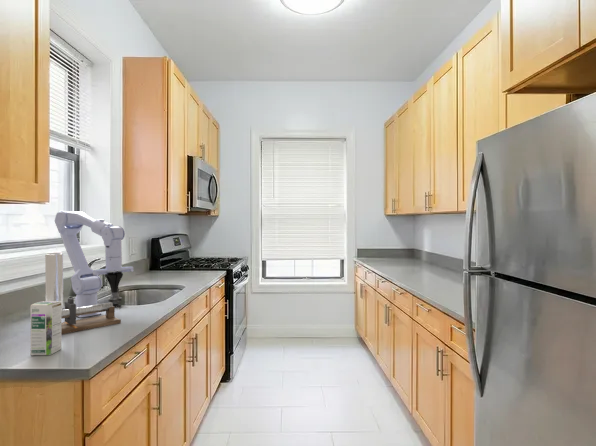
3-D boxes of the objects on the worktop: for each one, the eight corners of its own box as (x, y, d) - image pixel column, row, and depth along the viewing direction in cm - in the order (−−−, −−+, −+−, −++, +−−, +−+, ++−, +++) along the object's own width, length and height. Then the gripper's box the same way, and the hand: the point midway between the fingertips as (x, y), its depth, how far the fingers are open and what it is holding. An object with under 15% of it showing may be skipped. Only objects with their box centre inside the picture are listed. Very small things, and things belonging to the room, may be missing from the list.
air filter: (53, 307, 170) (53, 251, 170) (66, 307, 169) (66, 251, 169) (42, 310, 164) (41, 252, 164) (55, 311, 163) (55, 252, 163)
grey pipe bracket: (64, 321, 138) (64, 297, 138) (69, 320, 139) (69, 297, 139) (70, 324, 133) (70, 300, 133) (76, 324, 134) (75, 299, 134)
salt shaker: (116, 308, 168) (116, 280, 168) (104, 307, 169) (104, 280, 169) (125, 305, 174) (124, 278, 174) (113, 304, 175) (113, 278, 175)
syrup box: (29, 356, 108) (29, 304, 108) (43, 349, 114) (43, 300, 114) (49, 355, 108) (49, 304, 108) (62, 348, 114) (62, 300, 114)
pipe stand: (43, 329, 135) (43, 309, 135) (108, 317, 151) (108, 299, 151) (53, 335, 127) (52, 314, 127) (120, 322, 143) (120, 303, 143)
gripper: (97, 259, 142) (98, 295, 142) (136, 256, 152) (137, 290, 152) (90, 258, 146) (91, 293, 146) (128, 255, 157) (129, 288, 157)
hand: (114, 291), depth 150 cm, fingers closed
